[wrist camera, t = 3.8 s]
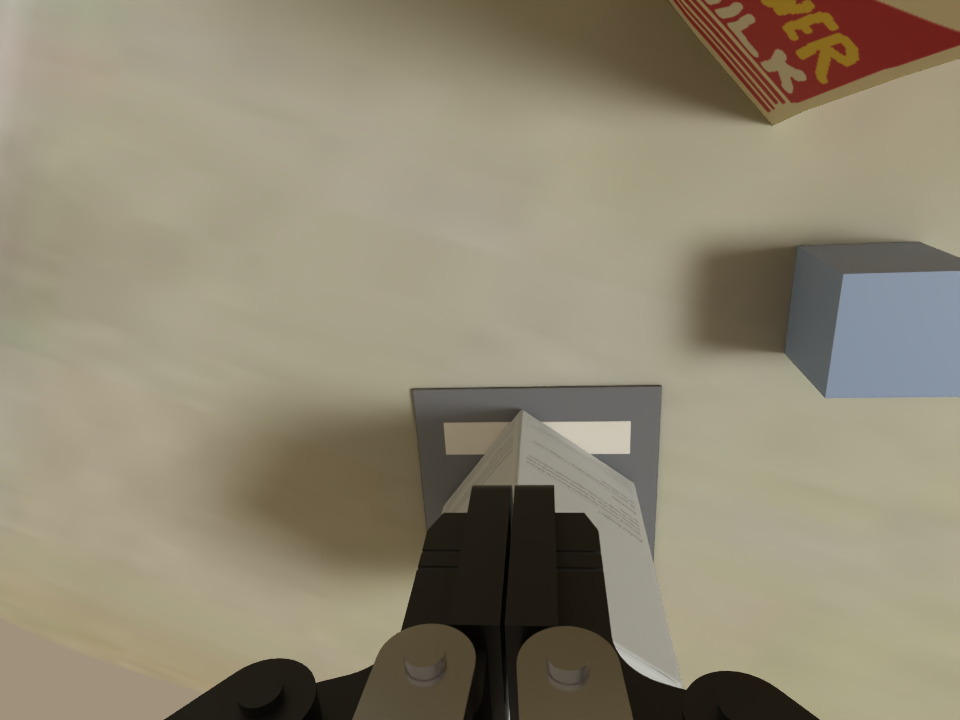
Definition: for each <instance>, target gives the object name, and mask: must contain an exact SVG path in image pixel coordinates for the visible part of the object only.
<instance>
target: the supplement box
mask: <svg viewBox="0 0 960 720" xmlns="http://www.w3.org/2000/svg"><path fill="white" fill-rule="evenodd" d="M473 485H512V490H513V503H514V489H515V485H554V495H555V513H585V514H586V515H587V517H588V518H589V519H590V520H591V522H592V523H593V524H594V525H595V527H596V528H597V529H598V531H599V539H600V547H601V555H602V563H603V572H604V578H605V586H606V594H607V602H608V610H609V618H610V626H611V633H612V639H613V643H614V645H615V647H616V650H617V651H618V653H619V654H620V656H621V657H622V658H623V659H624V660H625V662H626V663H627V664H629V665H630V666H631V667H632V668H633V669H635V670H636V671H638V672H639V673H641V674H642V675H644V676H646V677H648V678H650V679H652V680H655V681H658V682H661V683H664V684H667V685H671V686H674V687H677V688H681V689H682V687H683V684H682V680H681V677H680V673H679V669H678V664H677V660H676V656H675V652H674V648H673V644H672V639H671V635H670V631H669V627H668V623H667V619H666V614H665V610H664V606H663V602H662V598H661V593H660V589H659V585H658V581H657V577H656V572H655V568H654V564H653V560H652V556H651V551H650V547H649V543H648V539H647V535H646V531H645V526H644V522H643V518H642V514H641V509H640V505H639V501H638V497H637V493H636V488H635V484H634V483H633V482H632V481H630V480H629V479H627V478H626V477H624V476H623V475H621V474H620V473H618V472H617V471H615V470H614V469H612V468H611V467H609V466H608V465H606V464H605V463H603V462H602V461H600V460H599V459H597V458H596V457H594V456H592V455H591V454H589V453H588V452H586V451H585V450H583V449H582V448H580V447H579V446H577V445H576V444H574V443H573V442H571V441H570V440H568V439H566V438H565V437H563V436H562V435H560V434H559V433H557V432H556V431H554V430H553V429H551V428H550V427H548V426H547V425H545V424H543V423H542V422H540V421H539V420H537V419H536V418H534V417H533V416H531V415H530V414H528V413H527V412H525V411H524V410H521V411H520V412H519V413H518V414H517V415H516V417H515V418H514V419H513V420H512V422H511V423H510V424H509V425H508V426H507V427H506V429H505V430H504V431H503V433H502V434H501V435H500V436H499V438H498V439H497V440H496V441H495V443H494V444H493V445H492V446H491V447H490V448H489V450H488V451H487V452H486V454H485V455H484V456H483V457H482V459H481V460H480V461H479V462H478V463H477V465H476V466H475V467H474V469H473V470H472V471H471V472H470V474H469V475H468V476H467V477H466V478H465V480H464V481H463V482H462V484H461V485H460V486H459V487H458V489H457V490H456V491H455V492H454V493H453V495H452V496H451V497H450V498H449V500H448V501H447V502H446V503H445V505H444V507H443V510H442V514H443V513H467V511H468V506H469V500H470V494H471V489H472V486H473ZM509 720H510V713H509Z"/></svg>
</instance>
